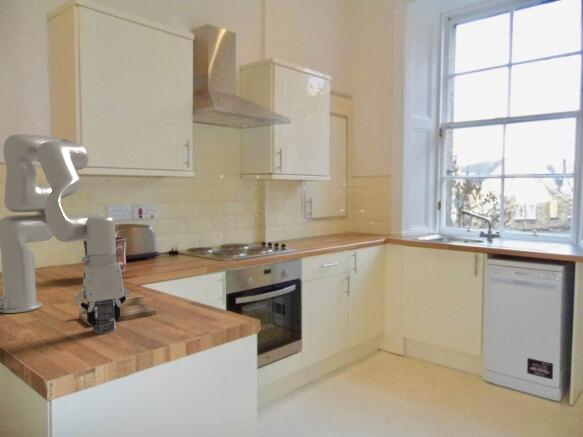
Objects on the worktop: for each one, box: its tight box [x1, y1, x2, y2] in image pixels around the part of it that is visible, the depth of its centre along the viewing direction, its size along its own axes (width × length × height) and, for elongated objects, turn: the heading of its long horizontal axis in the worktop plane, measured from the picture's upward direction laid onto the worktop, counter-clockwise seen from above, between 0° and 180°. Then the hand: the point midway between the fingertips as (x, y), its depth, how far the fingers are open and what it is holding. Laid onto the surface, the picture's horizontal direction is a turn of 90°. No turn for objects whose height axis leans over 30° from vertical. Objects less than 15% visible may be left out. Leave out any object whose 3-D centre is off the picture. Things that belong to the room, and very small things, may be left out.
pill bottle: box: [92, 299, 116, 334], centre depth 128 cm, size 6×6×11 cm
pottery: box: [83, 236, 128, 276], centre depth 202 cm, size 18×18×18 cm
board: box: [78, 295, 157, 327], centre depth 143 cm, size 20×12×4 cm, turn 130°
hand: (104, 321), depth 128 cm, fingers closed on pill bottle, 6 cm apart
